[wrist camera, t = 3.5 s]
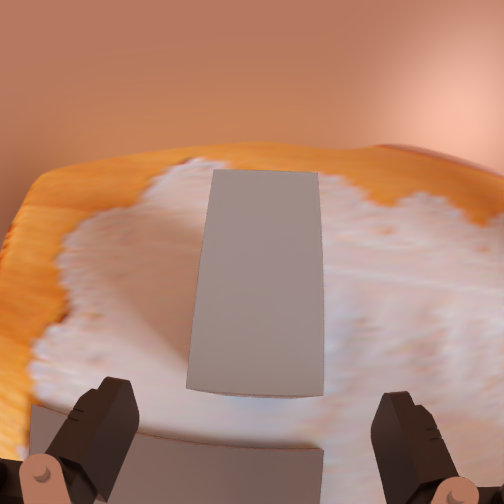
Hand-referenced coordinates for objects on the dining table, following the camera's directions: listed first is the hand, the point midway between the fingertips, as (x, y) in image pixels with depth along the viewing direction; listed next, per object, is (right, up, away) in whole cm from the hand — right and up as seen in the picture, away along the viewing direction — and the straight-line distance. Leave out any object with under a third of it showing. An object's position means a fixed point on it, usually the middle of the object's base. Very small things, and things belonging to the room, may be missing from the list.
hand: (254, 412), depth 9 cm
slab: (0, 0, +11) cm, 11 cm away
